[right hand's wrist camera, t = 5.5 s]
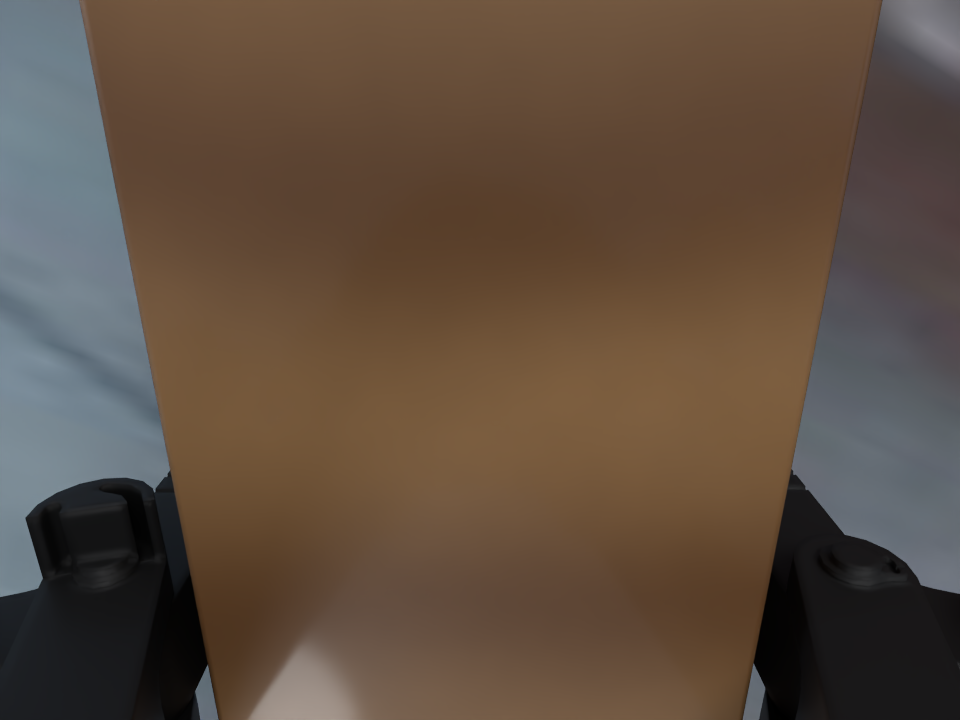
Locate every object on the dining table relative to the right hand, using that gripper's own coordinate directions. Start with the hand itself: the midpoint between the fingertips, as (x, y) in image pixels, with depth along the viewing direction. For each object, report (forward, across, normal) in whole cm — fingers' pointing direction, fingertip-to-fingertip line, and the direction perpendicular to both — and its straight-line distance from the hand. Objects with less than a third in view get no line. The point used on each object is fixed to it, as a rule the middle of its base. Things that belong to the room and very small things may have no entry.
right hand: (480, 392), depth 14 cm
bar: (+1, 0, -30) cm, 30 cm away
